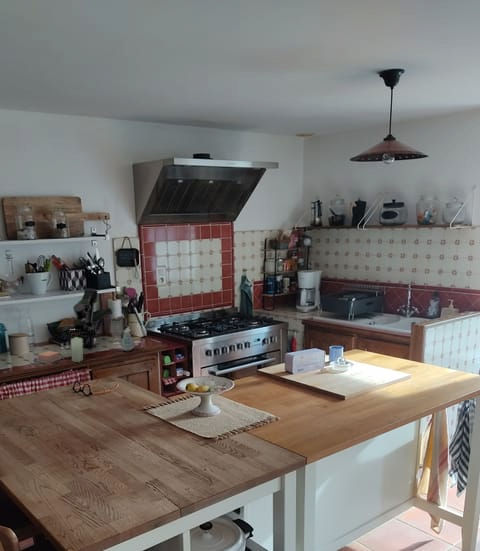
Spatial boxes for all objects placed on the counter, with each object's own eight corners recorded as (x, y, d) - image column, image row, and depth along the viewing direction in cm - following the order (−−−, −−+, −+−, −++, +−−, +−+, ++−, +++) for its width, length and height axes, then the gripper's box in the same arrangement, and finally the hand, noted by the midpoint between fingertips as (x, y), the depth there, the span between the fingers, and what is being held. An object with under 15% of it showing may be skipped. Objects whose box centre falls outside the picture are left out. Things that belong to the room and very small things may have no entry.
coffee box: (120, 340, 327) (119, 316, 324) (128, 340, 325) (127, 316, 322) (112, 343, 318) (111, 319, 316) (121, 344, 316) (120, 319, 314)
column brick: (75, 359, 285) (74, 336, 284) (85, 359, 284) (84, 336, 282) (70, 362, 280) (68, 338, 278) (79, 363, 278) (78, 339, 276)
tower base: (49, 356, 292) (49, 349, 291) (64, 358, 286) (64, 352, 286) (33, 361, 281) (32, 354, 281) (48, 364, 276) (47, 357, 275)
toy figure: (113, 354, 295) (112, 329, 293) (113, 349, 305) (112, 325, 303) (142, 352, 299) (141, 328, 297) (140, 347, 309) (140, 324, 307)
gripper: (61, 313, 285) (57, 337, 275) (95, 313, 287) (92, 336, 277) (66, 324, 294) (62, 347, 284) (98, 323, 295) (95, 346, 286)
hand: (77, 343), depth 283 cm, fingers open, 9 cm apart
